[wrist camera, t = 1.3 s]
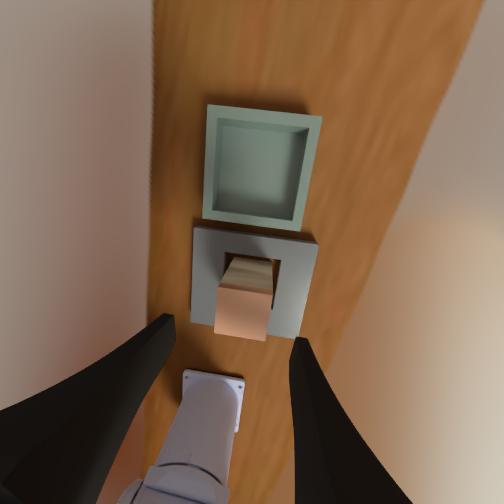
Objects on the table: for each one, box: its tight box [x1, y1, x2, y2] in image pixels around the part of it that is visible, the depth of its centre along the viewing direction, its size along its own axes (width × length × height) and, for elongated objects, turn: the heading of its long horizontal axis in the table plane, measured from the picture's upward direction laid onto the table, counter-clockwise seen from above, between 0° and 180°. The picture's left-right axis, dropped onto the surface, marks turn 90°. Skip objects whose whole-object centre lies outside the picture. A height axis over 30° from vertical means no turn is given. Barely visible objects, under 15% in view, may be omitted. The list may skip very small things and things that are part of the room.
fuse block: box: [214, 257, 273, 341], centre depth 18 cm, size 4×4×7 cm
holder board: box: [191, 226, 319, 339], centre depth 21 cm, size 11×12×1 cm
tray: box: [202, 104, 323, 232], centre depth 17 cm, size 9×9×2 cm
